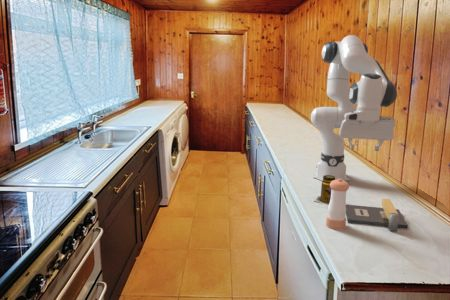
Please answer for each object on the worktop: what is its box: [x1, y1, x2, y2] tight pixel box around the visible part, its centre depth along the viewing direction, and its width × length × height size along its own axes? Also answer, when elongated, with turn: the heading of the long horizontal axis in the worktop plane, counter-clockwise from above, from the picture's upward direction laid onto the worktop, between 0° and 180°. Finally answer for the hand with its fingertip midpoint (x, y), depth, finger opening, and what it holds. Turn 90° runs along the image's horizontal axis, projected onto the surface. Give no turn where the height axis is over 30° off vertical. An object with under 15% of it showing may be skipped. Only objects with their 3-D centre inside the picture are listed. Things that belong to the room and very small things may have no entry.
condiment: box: [314, 175, 335, 206], centre depth 170 cm, size 7×8×12 cm
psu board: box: [345, 204, 409, 230], centre depth 154 cm, size 16×22×2 cm
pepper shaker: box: [325, 179, 350, 231], centre depth 144 cm, size 7×7×19 cm
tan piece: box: [381, 198, 399, 232], centre depth 149 cm, size 18×3×6 cm, turn 167°
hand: (364, 149), depth 150 cm, fingers open, 8 cm apart
